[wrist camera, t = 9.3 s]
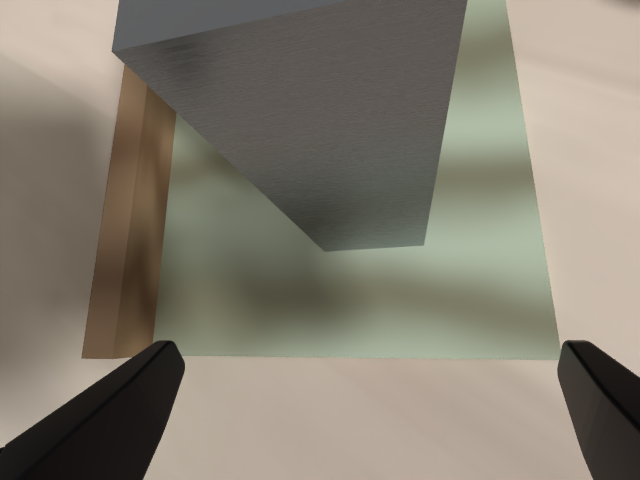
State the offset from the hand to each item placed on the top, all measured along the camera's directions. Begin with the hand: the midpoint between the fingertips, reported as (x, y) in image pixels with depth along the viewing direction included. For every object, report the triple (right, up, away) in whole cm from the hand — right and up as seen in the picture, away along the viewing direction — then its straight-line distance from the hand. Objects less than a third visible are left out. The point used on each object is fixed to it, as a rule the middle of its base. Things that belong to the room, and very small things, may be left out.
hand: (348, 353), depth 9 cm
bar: (+2, +4, +9) cm, 10 cm away
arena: (-1, +7, +10) cm, 13 cm away
